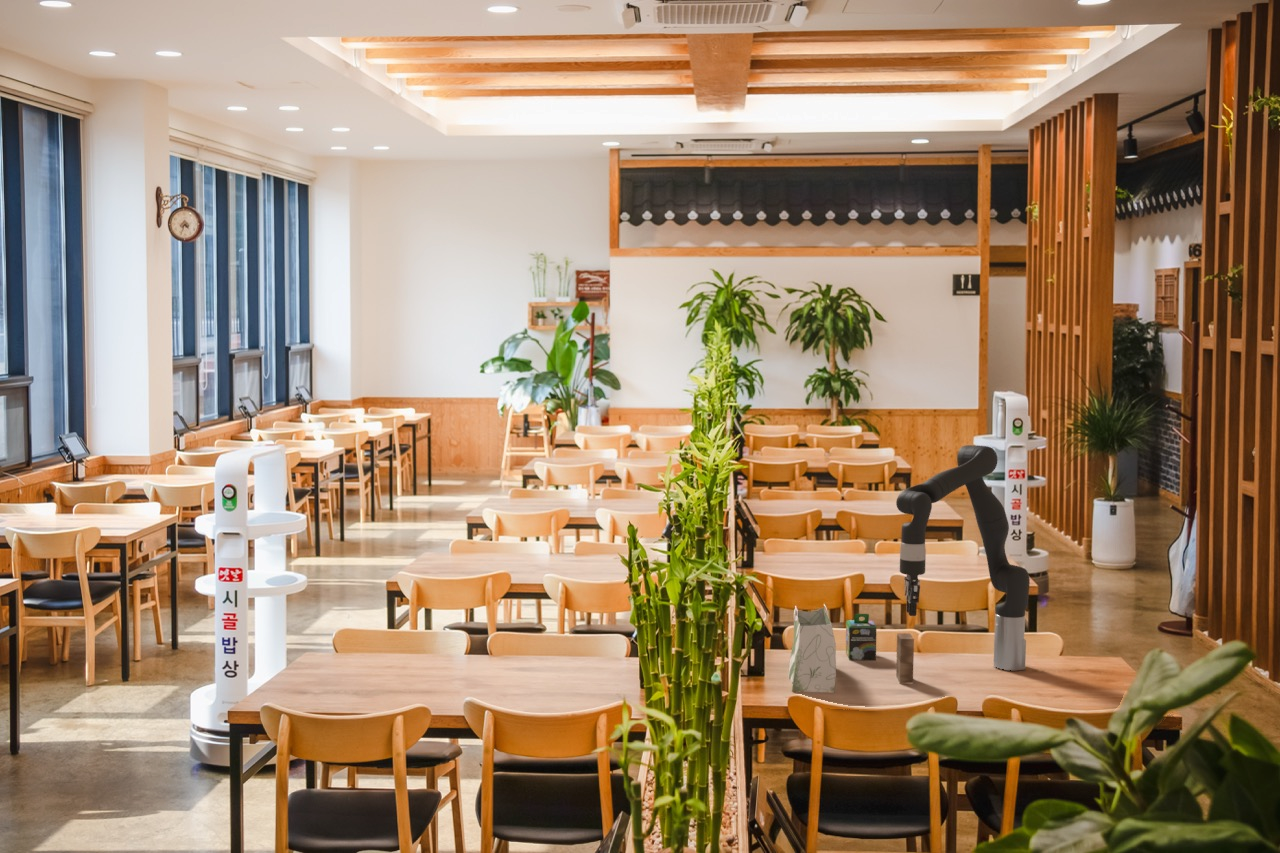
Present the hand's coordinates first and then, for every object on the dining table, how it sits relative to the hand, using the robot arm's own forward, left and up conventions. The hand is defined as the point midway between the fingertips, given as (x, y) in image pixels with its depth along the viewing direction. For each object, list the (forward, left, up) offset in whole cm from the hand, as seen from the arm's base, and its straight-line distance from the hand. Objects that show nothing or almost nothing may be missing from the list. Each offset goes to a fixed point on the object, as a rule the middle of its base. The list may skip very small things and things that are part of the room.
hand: (911, 613), depth 391 cm
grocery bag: (+29, -11, -23) cm, 39 cm away
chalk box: (+10, -37, -23) cm, 45 cm away
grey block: (0, -10, -23) cm, 25 cm away
